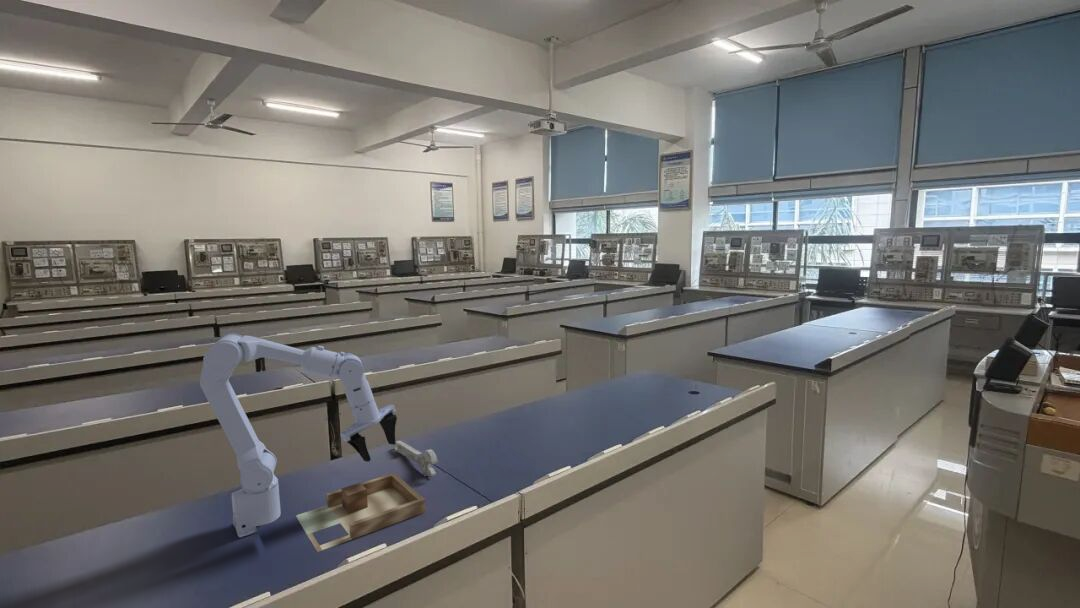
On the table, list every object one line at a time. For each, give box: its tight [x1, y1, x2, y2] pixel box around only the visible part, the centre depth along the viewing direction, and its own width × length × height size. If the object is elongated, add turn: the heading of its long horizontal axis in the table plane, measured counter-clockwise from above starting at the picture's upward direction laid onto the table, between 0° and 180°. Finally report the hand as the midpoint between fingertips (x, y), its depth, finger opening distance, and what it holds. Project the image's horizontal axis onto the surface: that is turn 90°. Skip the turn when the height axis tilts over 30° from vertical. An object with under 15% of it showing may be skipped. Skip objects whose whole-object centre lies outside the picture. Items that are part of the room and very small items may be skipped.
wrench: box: [393, 439, 439, 478], centre depth 144 cm, size 8×2×30 cm
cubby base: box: [295, 472, 426, 553], centre depth 116 cm, size 24×18×4 cm
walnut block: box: [340, 482, 368, 514], centre depth 119 cm, size 4×4×4 cm
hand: (380, 451), depth 124 cm, fingers open, 7 cm apart
